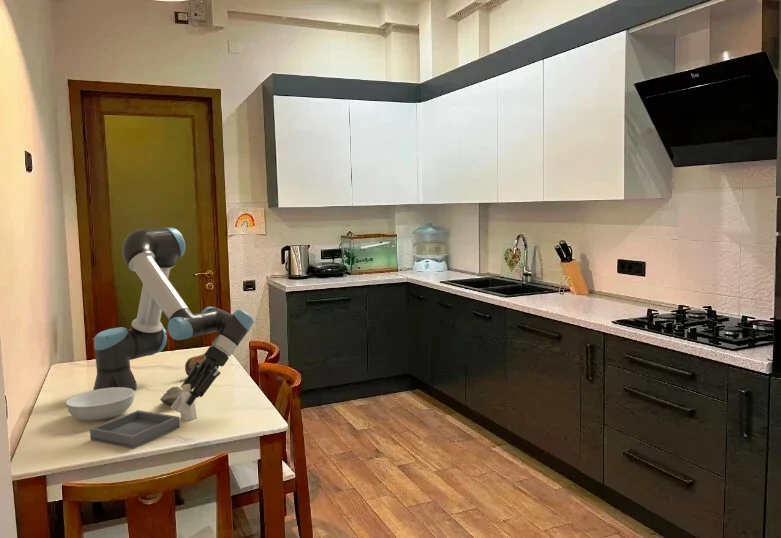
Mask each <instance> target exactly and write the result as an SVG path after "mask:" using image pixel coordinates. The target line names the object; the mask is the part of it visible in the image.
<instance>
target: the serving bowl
mask: <svg viewBox="0 0 781 538" xmlns="http://www.w3.org/2000/svg"><path fill="white" fill-rule="evenodd" d="M134 398H135V390H132V389H130V388H124V387H114V388H104V389H97V390H93V389H92V390H89V391H84V392H82V393H79V394H76V395H74V396H72V397H69V399H68V400H66V401H65V406H66V409H67V411H68V412H69V414H70V415H71V416H72V417H74V418H76V419H78V420H82V421H95V422H96V421H97V422H98V421H103V420H108V419H111V418H114V417H116V416H119V415H120V414H122V413H124V412H126V411H127V410H129V408H130V407H131V406H132V404H133V402H134V400H135V399H134Z"/></svg>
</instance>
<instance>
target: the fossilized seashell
mask: <svg viewBox="0 0 781 538" xmlns="http://www.w3.org/2000/svg"><path fill="white" fill-rule="evenodd" d="M182 391H183V390H182V388H181V387H178V386H173V387H170V388H169V389H168V390H166V393H163V395H162V396H161V398H160V401H161V403H163V404H164V405H166V406H168V407H169V406H170V407H171V406H172V405H173V403H174V402H175V400H176V399H177V398H178V396H179V395H180V394H181V392H182Z"/></svg>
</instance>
